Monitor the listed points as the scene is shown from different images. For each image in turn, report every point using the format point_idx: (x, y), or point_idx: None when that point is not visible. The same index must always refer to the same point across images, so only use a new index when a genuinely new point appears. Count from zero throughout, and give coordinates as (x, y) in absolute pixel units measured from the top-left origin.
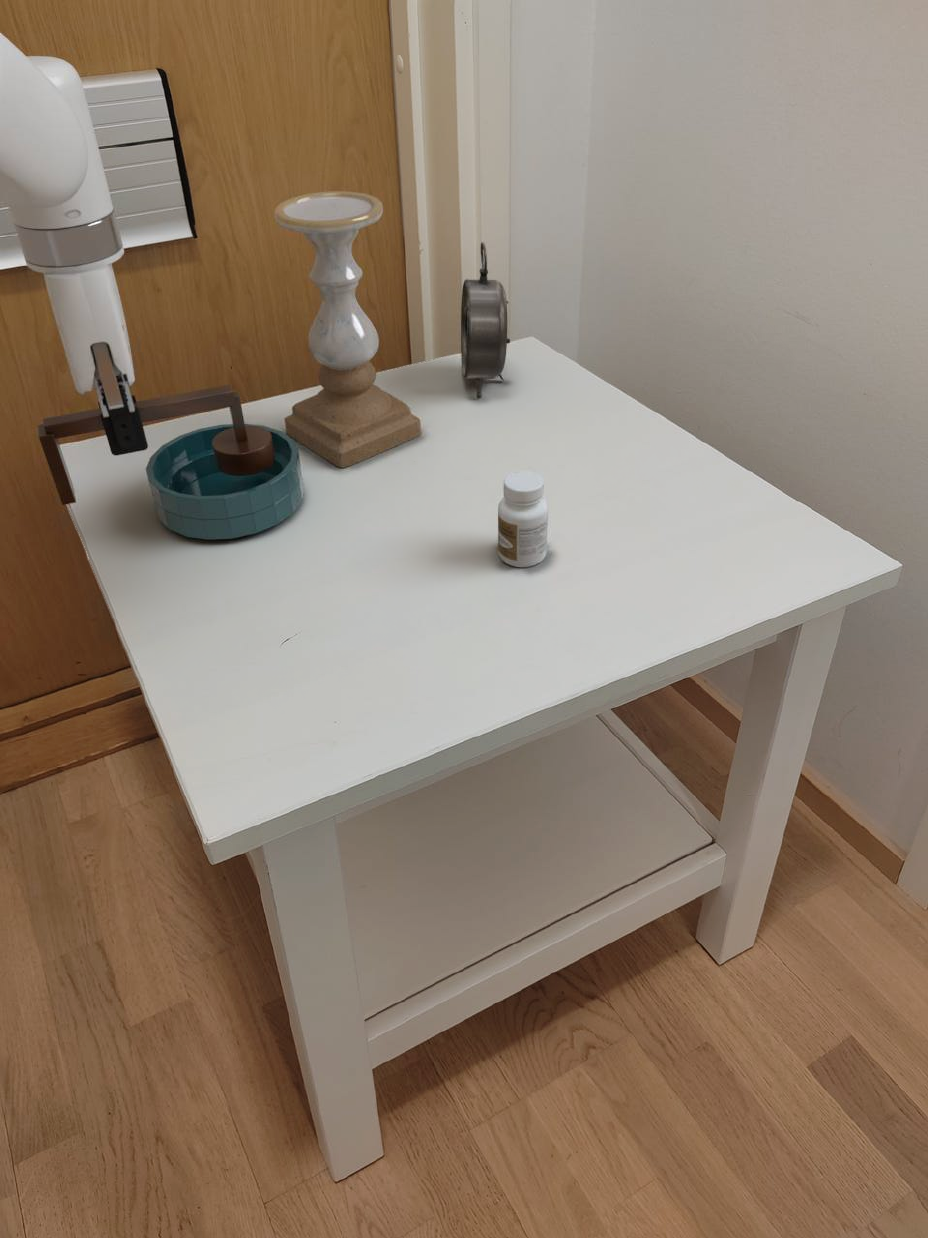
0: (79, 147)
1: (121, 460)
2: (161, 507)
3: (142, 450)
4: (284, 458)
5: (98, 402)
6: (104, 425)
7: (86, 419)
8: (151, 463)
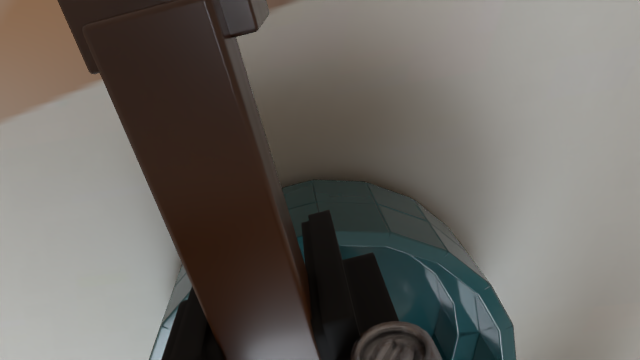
0: None
1: (586, 46)
2: None
3: None
4: None
5: (344, 320)
6: (182, 326)
7: (187, 271)
8: (347, 241)
